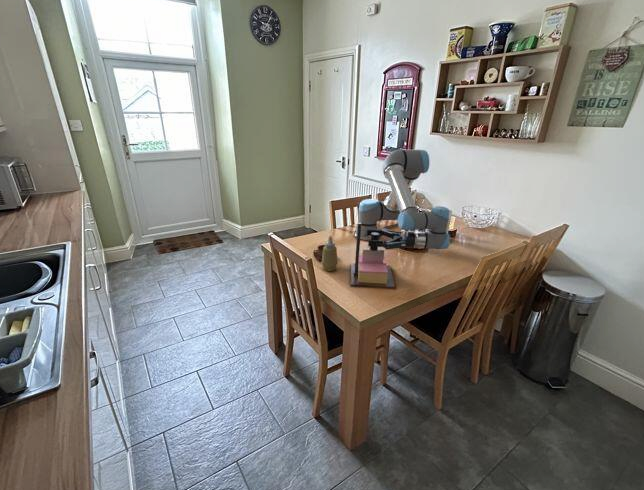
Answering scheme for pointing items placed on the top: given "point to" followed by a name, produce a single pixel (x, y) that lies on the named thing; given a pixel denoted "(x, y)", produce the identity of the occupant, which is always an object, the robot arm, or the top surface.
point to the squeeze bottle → (329, 255)
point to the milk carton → (448, 221)
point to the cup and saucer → (319, 252)
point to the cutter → (373, 252)
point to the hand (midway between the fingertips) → (367, 237)
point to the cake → (372, 272)
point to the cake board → (374, 285)
